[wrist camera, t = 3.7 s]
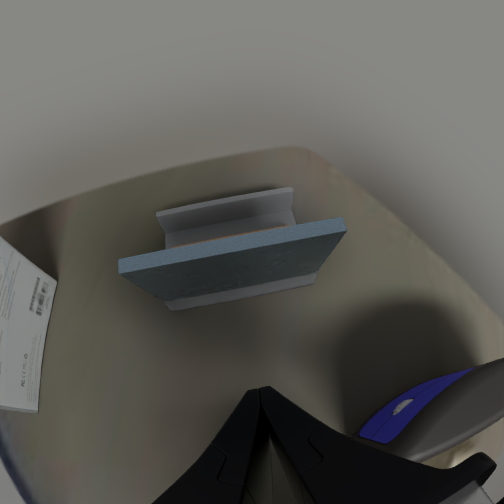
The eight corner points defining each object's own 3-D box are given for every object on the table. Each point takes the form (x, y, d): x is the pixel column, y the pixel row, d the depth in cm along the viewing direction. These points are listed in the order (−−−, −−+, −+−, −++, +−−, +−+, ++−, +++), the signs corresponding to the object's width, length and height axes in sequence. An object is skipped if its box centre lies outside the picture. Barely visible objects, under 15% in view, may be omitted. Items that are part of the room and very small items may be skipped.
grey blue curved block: (482, 357, 21) (545, 329, 12) (488, 397, 18) (553, 381, 10) (341, 404, 20) (386, 404, 12) (347, 454, 18) (393, 479, 10)
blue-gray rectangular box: (313, 263, 22) (316, 272, 22) (163, 291, 22) (164, 301, 21) (342, 216, 15) (347, 230, 14) (118, 259, 14) (118, 273, 14)
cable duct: (313, 284, 26) (320, 266, 23) (171, 311, 25) (158, 297, 22) (289, 209, 30) (291, 186, 27) (166, 232, 29) (156, 212, 26)
